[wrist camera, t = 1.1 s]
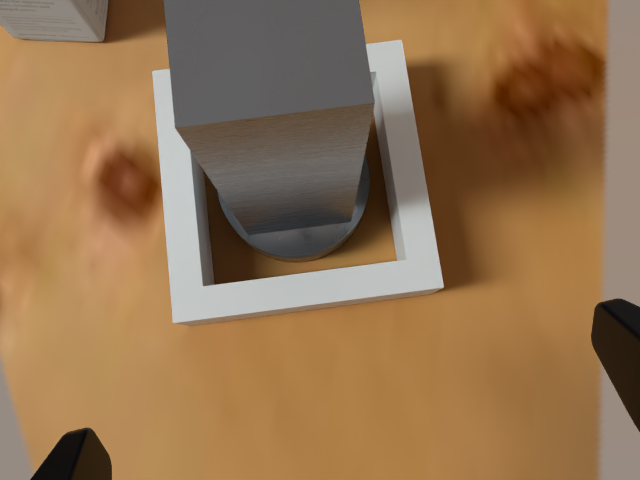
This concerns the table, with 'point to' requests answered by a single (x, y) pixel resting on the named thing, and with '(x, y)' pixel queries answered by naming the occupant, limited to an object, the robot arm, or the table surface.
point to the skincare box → (55, 19)
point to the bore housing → (314, 287)
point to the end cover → (276, 116)
